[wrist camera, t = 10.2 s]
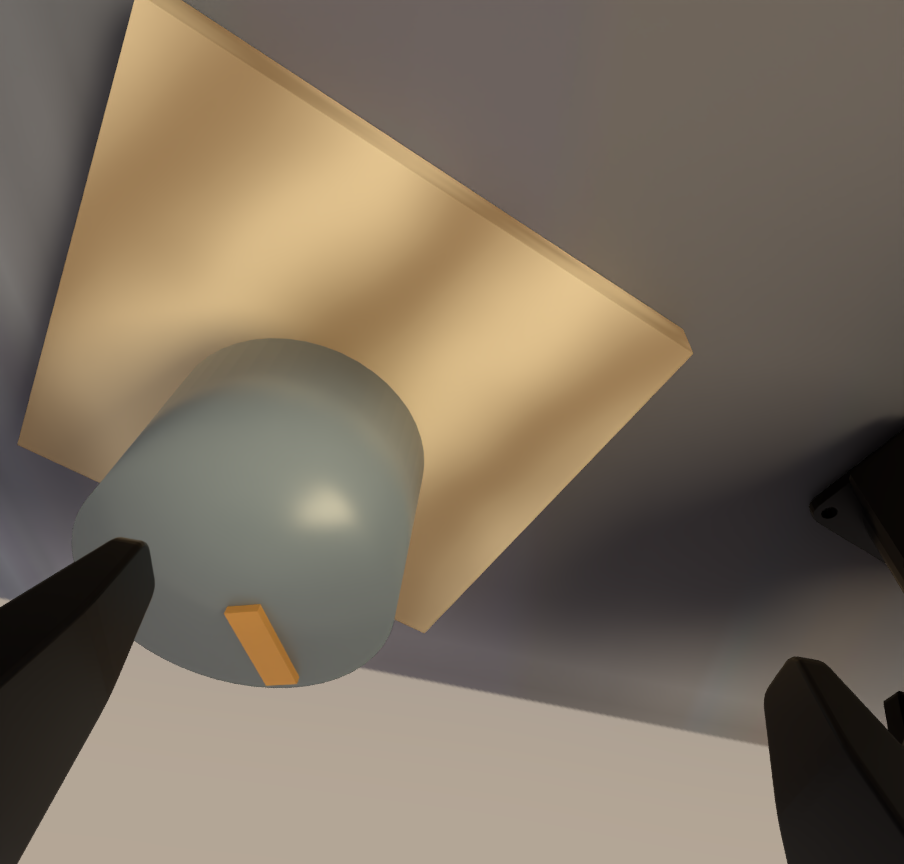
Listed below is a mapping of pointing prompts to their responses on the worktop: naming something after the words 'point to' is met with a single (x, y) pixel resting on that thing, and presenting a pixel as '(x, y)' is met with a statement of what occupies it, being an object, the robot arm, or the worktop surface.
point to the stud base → (330, 292)
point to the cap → (268, 514)
